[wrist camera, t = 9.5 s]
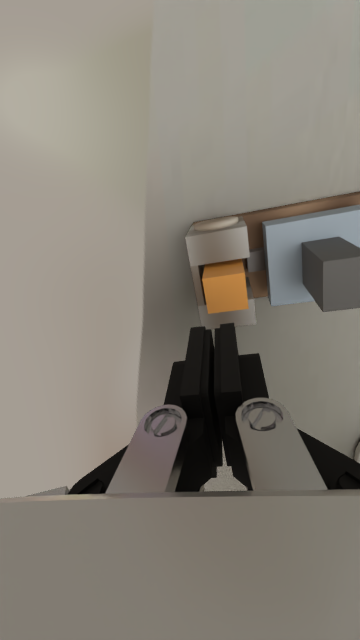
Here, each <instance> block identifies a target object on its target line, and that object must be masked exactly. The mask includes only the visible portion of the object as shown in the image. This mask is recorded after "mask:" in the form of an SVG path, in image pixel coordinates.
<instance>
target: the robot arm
mask: <svg viewBox="0 0 360 640" xmlns="http://www.w3.org/2000/svg"><path fill="white" fill-rule="evenodd" d="M222 440H223V446H224V451H225V456H226V462H227V466H232V472H233V476H234V477H235V478H236V479H237V480H239V481H240V482H241V483H242V484H243V485H245V486H246V488H247V491H211V492H204V484H205V483H206V482H207V481H208V480H209V479H210V478H217V467H218V466H222V465H223V459H222ZM354 460H355V461H354ZM354 460H353V459H351V458H349V457H347V456H345V455H344V454H342V453H340V452H338V451H337V450H335V449H333V448H331V447H329V446H328V445H326V444H324V443H322V442H320V441H319V440H317V439H315V438H313V437H311V436H310V435H308V434H306V433H304V432H302V431H301V430H299V429H297V428H296V426H295V424H294V422H293V420H292V418H291V417H290V415H289V413H288V411H287V409H286V408H285V407H284V405H282V404H281V403H279V402H278V401H275V400H273V399H269V396H268V392H267V387H266V383H265V378H264V373H263V369H262V364H261V360H260V356H259V353H257V354H247V355H238V348H237V341H236V333H235V326H234V323H226V324H220V328H215V349H214V344H213V338H212V332H211V329H207V330H206V328H205V326H202V327H193V328H191V330H190V336H189V342H188V348H187V354H186V360H185V361H179V362H174V363H173V366H172V371H171V375H170V380H169V384H168V388H167V393H166V397H165V402H164V405H161V406H158V407H155V408H153V409H152V410H150V411H149V412H147V413H146V414H145V415H144V416H143V418H142V419H141V421H140V423H139V425H138V427H137V429H136V431H135V433H134V435H133V438H132V439H131V442H130V443H129V445H127V446H126V447H125V448H123V449H122V450H120V451H119V452H118V453H116V454H115V455H114V456H112V457H111V458H109V459H108V460H107V461H105V462H104V463H102V464H101V465H100V466H98V467H97V468H95V469H94V470H93V471H91V472H90V473H88V474H87V475H86V476H84V477H83V478H82V479H80V480H79V481H78V482H77V483H76V484H75V485H74V486H73V487H72V489H70V490H68V488H67V486H65V487H61V488H57V489H53V490H49V491H45V492H41V493H37V494H33V495H29V496H25V497H15V498H3V499H0V640H360V442H359V443H358V446H357V448H356V450H355V456H354Z"/></svg>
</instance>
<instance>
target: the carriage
mask: <svg viewBox="0 0 360 640" xmlns="http://www.w3.org/2000/svg"><path fill="white" fill-rule="evenodd" d="M262 227H263V240H264V253H265V265H266V278H267V291H268V298H269V301H270V304H271V306H278V305H286V304H294V303H302V302H310V301H315V302H316V303H317V304H318V306H319V307H320V309H321V310H322V311H323V312H328V311H336V310H345V309H353V308H360V205H354V206H349V207H343V208H338V209H332V210H326V211H321V212H315V213H309V214H304V215H298V216H293V217H287V218H281V219H276V220H270V221H265V222H262Z"/></svg>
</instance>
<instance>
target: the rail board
mask: <svg viewBox="0 0 360 640" xmlns="http://www.w3.org/2000/svg"><path fill="white" fill-rule="evenodd" d="M354 205H360V192H355V193H349V194H344V195H339V196H333V197H328V198H322V199H317V200H312V201H306V202H301V203H296V204H290V205H285V206H279V207H274V208H269V209H263V210H258V211H253V212H247V213H242V214H236V215H231V216H226V217H220V218H215V219H210V220H204V221H199V222H194V223H193V224H192V226H191V228H190V230H189V231H188V233H187V235H186V237H185V240H186V245H187V250H188V256H189V261H190V267H191V272H192V277H193V283H194V288H195V294H196V299H197V305H198V310H199V315H200V321H201V326H205V328H206V330H207V329H215V328H220V324H226V323H234V326H235V327H236V326H245V325H254V324H256V315H255V305H254V298H258V297H266V296H268V291H267V278H266V265H265V253H264V240H263V227H262V222H265V221H270V220H276V219H281V218H287V217H293V216H298V215H304V214H309V213H315V212H321V211H326V210H332V209H338V208H343V207H349V206H354ZM235 259H242V262H243V267H244V271H245V279H246V289H247V298H248V307H249V309H243V310H235V311H227V312H219V313H211V314H208V310H207V304H206V298H205V293H204V287H203V281H202V277H203V272H204V267H205V264H210V263H216V262H223V261H229V260H235Z"/></svg>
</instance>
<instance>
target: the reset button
mask: <svg viewBox="0 0 360 640" xmlns="http://www.w3.org/2000/svg"><path fill="white" fill-rule="evenodd" d="M202 281H203V287H204V293H205V298H206V304H207V310H208V314H211V313H219V312H227V311H235V310H243V309H249V307H248V298H247V289H246V279H245V271H244V267H243V262H242V259H235V260H229V261H223V262H216V263H210V264H205V267H204V272H203V277H202Z"/></svg>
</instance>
